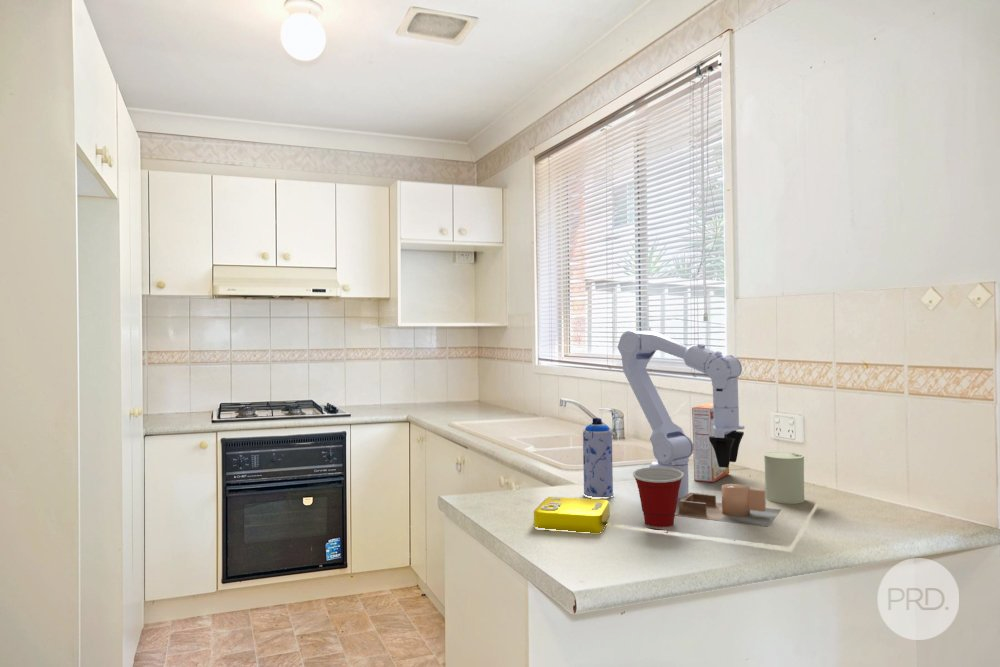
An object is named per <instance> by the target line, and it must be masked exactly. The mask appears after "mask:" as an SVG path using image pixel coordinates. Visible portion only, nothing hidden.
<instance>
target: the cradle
mask: <svg viewBox="0 0 1000 667" xmlns="http://www.w3.org/2000/svg"><path fill="white" fill-rule="evenodd" d="M716 496H717V495H716V494H706V493H698V492H697V493H696V492H689V494H688V495H686V496H685V497H684V498H680V499H679V500H678V512H677V513H675V516H677V517H684V518H692V519H700V520H709V521H718V522H726V523H731V524H732V523H733V524H740V525H750V526H751V525H752V526H758V527H765V528H768V527H769V526H771V524H772V523H773V521H774V520H775V518H776V517H777V515H779V513H780V512H781V511H782V509H780V508H773V507H772V508H771V507H766V511H765V512H764V511H755V510H750V515H749V516H744V517H735V516H728V515H725V514H723V513H722V502H717V497H716Z"/></svg>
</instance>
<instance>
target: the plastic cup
mask: <svg viewBox="0 0 1000 667" xmlns="http://www.w3.org/2000/svg"><path fill="white" fill-rule="evenodd" d="M683 476H684V474H683V472H681V471H680V470H677V469H673V468H666V467H650V466H649V467H641V468H639V469H636V470H634V471H633V472H632V477H633V478H634V479H635V482H636V485H637V489H638V493H639V498H640V499H639V500H640V504H641V510H642V511H641V512H642V514H643V518H644V524H645V525H646V526H649V527H648V529H650V530H654V531H664V529H661V528H668V527H672V526H673V525H674V523H675V518H676V517H675V515H676V514H677V513H676V512H677V504H678V501H679V500H678V493H679V488H680V484H681V480H682V478H683Z"/></svg>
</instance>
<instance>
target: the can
mask: <svg viewBox="0 0 1000 667" xmlns="http://www.w3.org/2000/svg"><path fill="white" fill-rule="evenodd" d="M763 456H764V459H763V460H764V484H765V485H764V490H765V499H766V500H767V501H769V502H772V503H778V504H786V505H787V504H789V505H790V504H801V503H804V502H805V500H806V499H805V455H804V454H802V453H797V452H796V453H795V452H788V451H786V452H785V451H771V452H765V453H764V454H763Z"/></svg>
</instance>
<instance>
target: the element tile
mask: <svg viewBox="0 0 1000 667" xmlns="http://www.w3.org/2000/svg"><path fill="white" fill-rule="evenodd" d="M610 506H611V505H610V501H608V499H590V498H585V497H583V498H582V497H580V498H579V497H564V496H562V497H561V496H548V497H546V498H545V499H544V500H543V501H542V502H541V503H540V504H539V505H538V506H537V507H536V508H535V509H534V510H533V527H534V526H535V527H538V528H545V529H556V530H568V531H576V532H590V533H600V532H602V531H603V532H604V530H605V529H604V527H605V525H606V524H608V523H607V522H608V519H609V518H610V516H611V515H610V511H611V510H610V509H611V508H610ZM606 526H607V525H606ZM605 528H606V527H605ZM603 529H604V530H603ZM603 532H602V533H603ZM600 534H601V533H600Z"/></svg>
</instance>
